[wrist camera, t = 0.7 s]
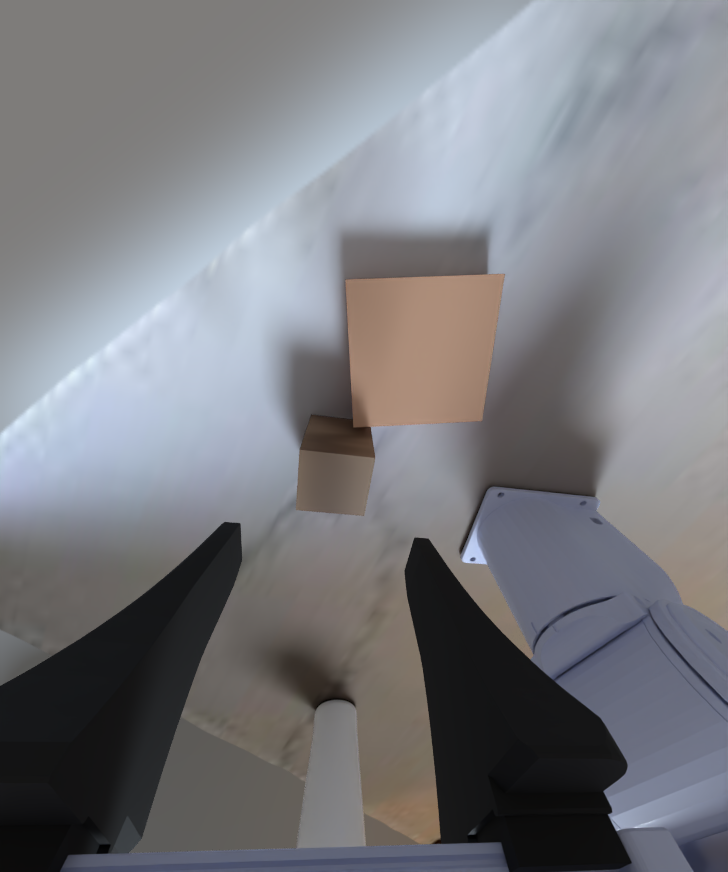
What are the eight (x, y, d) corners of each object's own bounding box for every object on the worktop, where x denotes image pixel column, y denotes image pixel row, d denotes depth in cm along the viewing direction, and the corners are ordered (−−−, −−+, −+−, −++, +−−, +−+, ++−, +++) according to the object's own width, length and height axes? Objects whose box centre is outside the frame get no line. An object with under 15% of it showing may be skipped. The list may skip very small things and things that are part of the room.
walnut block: (369, 421, 20) (375, 458, 15) (361, 470, 22) (364, 515, 17) (311, 414, 19) (299, 449, 15) (307, 464, 21) (295, 509, 17)
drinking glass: (310, 720, 38) (288, 951, 25) (308, 695, 35) (283, 940, 22) (361, 719, 39) (366, 945, 25) (363, 693, 36) (371, 933, 22)
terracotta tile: (483, 277, 17) (504, 273, 14) (466, 407, 20) (481, 421, 18) (345, 282, 16) (345, 279, 14) (352, 412, 20) (353, 427, 18)
